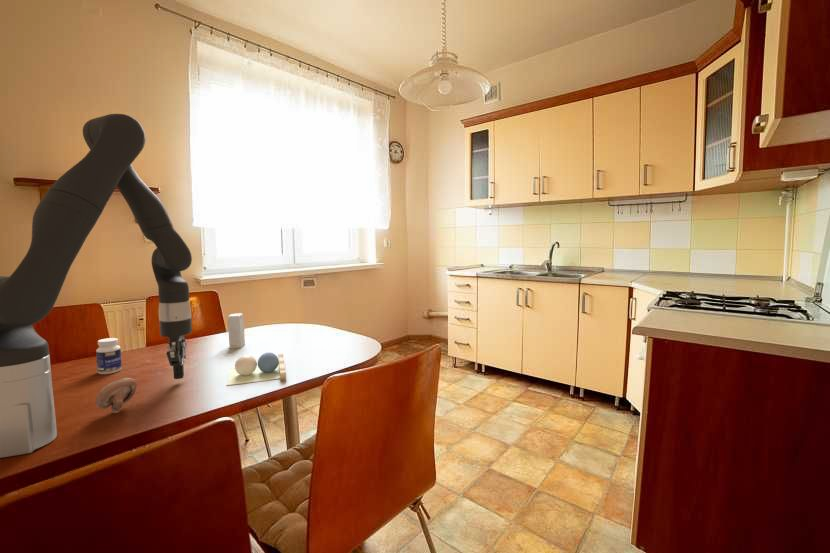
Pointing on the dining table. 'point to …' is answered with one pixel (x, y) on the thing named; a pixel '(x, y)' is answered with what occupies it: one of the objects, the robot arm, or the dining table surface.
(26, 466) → the dining table surface
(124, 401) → the mushroom
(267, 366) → the blue ball
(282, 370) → the stopper strip
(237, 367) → the cue ball
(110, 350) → the pill bottle
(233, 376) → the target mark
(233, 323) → the skincare box
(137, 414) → the dining table surface
